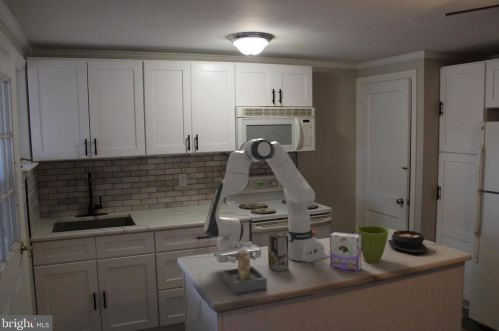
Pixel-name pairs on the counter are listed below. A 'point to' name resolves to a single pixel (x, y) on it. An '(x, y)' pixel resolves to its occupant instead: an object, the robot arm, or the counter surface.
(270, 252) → the coffee box
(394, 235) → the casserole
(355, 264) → the candy box
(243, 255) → the peg
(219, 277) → the counter surface
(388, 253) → the counter surface
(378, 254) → the flower pot
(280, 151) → the robot arm
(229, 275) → the box
